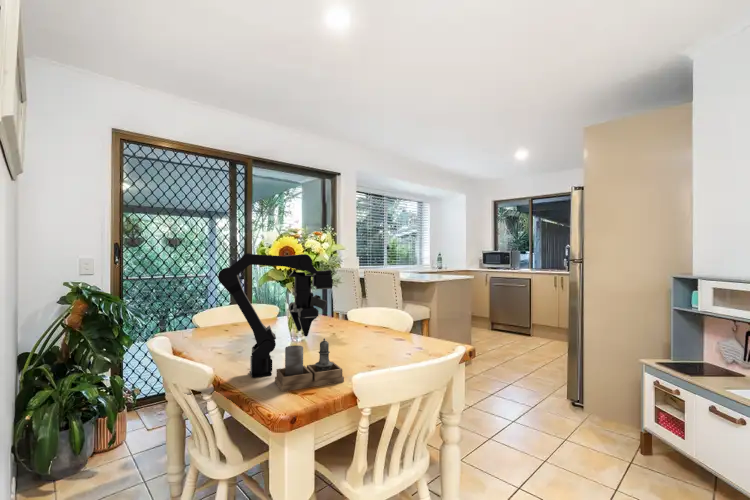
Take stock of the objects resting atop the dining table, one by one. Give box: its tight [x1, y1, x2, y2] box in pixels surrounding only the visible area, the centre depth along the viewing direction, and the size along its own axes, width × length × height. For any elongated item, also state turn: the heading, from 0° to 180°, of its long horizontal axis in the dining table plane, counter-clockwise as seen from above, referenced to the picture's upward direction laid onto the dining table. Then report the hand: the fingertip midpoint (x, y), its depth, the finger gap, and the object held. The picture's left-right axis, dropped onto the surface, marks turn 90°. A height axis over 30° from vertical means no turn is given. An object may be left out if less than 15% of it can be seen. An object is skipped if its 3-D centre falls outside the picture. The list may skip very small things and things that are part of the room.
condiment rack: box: [274, 345, 345, 393], centre depth 122 cm, size 20×10×12 cm, turn 116°
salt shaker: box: [314, 338, 333, 372], centre depth 124 cm, size 6×6×12 cm
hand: (302, 333), depth 133 cm, fingers open, 9 cm apart
